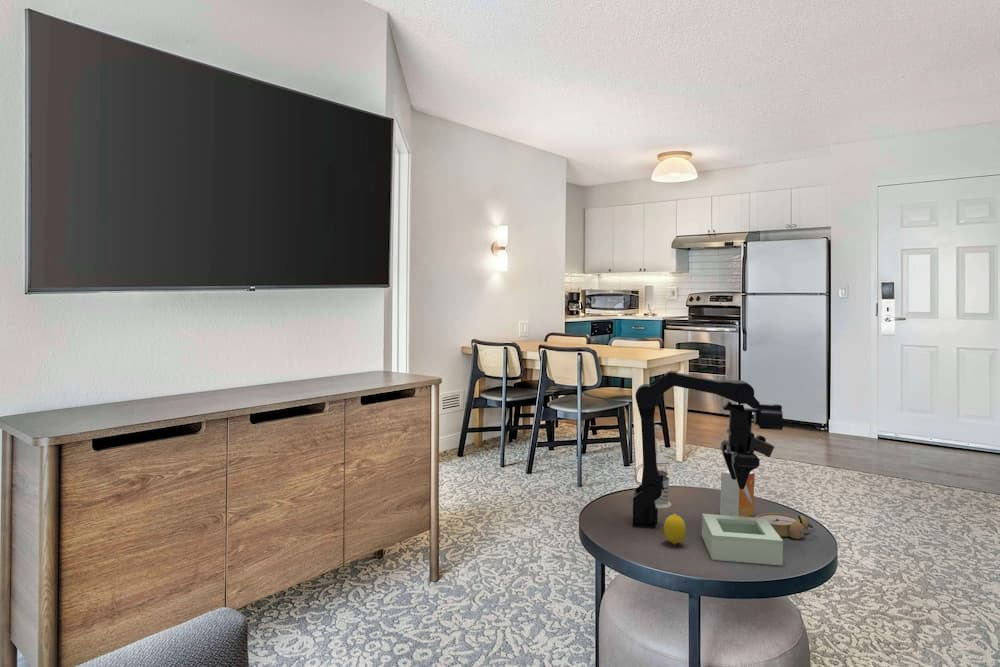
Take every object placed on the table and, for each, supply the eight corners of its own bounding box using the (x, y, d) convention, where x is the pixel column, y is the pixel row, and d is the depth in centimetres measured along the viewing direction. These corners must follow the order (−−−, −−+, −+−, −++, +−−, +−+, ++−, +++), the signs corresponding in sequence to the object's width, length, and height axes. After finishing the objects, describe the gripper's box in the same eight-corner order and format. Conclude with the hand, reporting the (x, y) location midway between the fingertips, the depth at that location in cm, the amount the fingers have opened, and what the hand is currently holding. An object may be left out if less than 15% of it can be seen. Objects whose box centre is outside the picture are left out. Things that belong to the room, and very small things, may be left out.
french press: (676, 508, 180) (677, 427, 180) (638, 508, 180) (640, 427, 179) (666, 498, 190) (667, 422, 189) (631, 498, 190) (632, 421, 189)
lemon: (686, 549, 148) (687, 518, 148) (664, 547, 149) (664, 516, 149) (684, 541, 153) (684, 511, 153) (662, 539, 154) (663, 509, 154)
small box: (738, 520, 170) (739, 476, 170) (719, 514, 175) (720, 471, 175) (754, 515, 175) (755, 472, 174) (734, 509, 180) (735, 467, 179)
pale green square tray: (711, 559, 142) (712, 535, 142) (701, 535, 158) (702, 513, 157) (782, 565, 139) (783, 540, 139) (764, 540, 155) (765, 518, 154)
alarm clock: (760, 511, 170) (817, 513, 161) (763, 528, 170) (820, 531, 161) (749, 521, 162) (808, 523, 152) (752, 539, 161) (811, 543, 152)
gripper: (782, 436, 148) (779, 496, 149) (762, 423, 166) (759, 477, 167) (736, 433, 150) (733, 493, 151) (721, 420, 168) (719, 474, 169)
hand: (737, 484), depth 159 cm, fingers open, 9 cm apart
